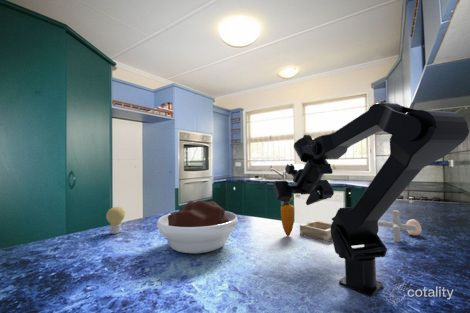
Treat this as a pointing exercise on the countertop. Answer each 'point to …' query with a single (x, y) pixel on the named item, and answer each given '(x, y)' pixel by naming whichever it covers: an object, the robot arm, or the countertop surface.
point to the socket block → (316, 230)
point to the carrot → (287, 217)
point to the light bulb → (115, 219)
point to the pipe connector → (396, 226)
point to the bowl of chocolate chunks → (197, 227)
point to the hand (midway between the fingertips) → (294, 204)
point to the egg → (418, 227)
